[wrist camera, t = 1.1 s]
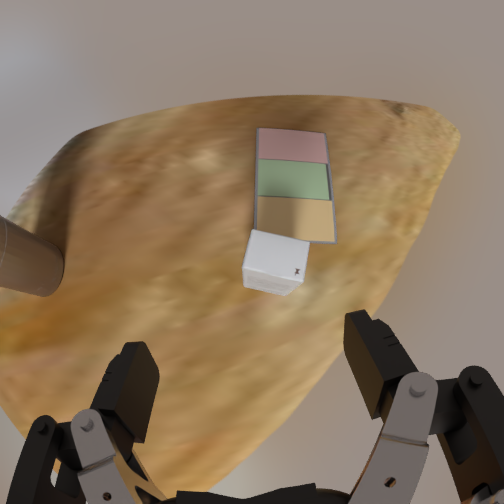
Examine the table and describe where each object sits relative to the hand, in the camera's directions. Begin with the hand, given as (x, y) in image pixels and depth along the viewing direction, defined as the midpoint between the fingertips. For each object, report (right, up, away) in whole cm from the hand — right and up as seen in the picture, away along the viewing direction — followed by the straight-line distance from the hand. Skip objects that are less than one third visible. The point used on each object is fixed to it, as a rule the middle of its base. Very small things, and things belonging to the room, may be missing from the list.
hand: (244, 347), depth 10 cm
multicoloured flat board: (+7, +15, +31) cm, 35 cm away
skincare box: (+2, 0, +27) cm, 28 cm away
